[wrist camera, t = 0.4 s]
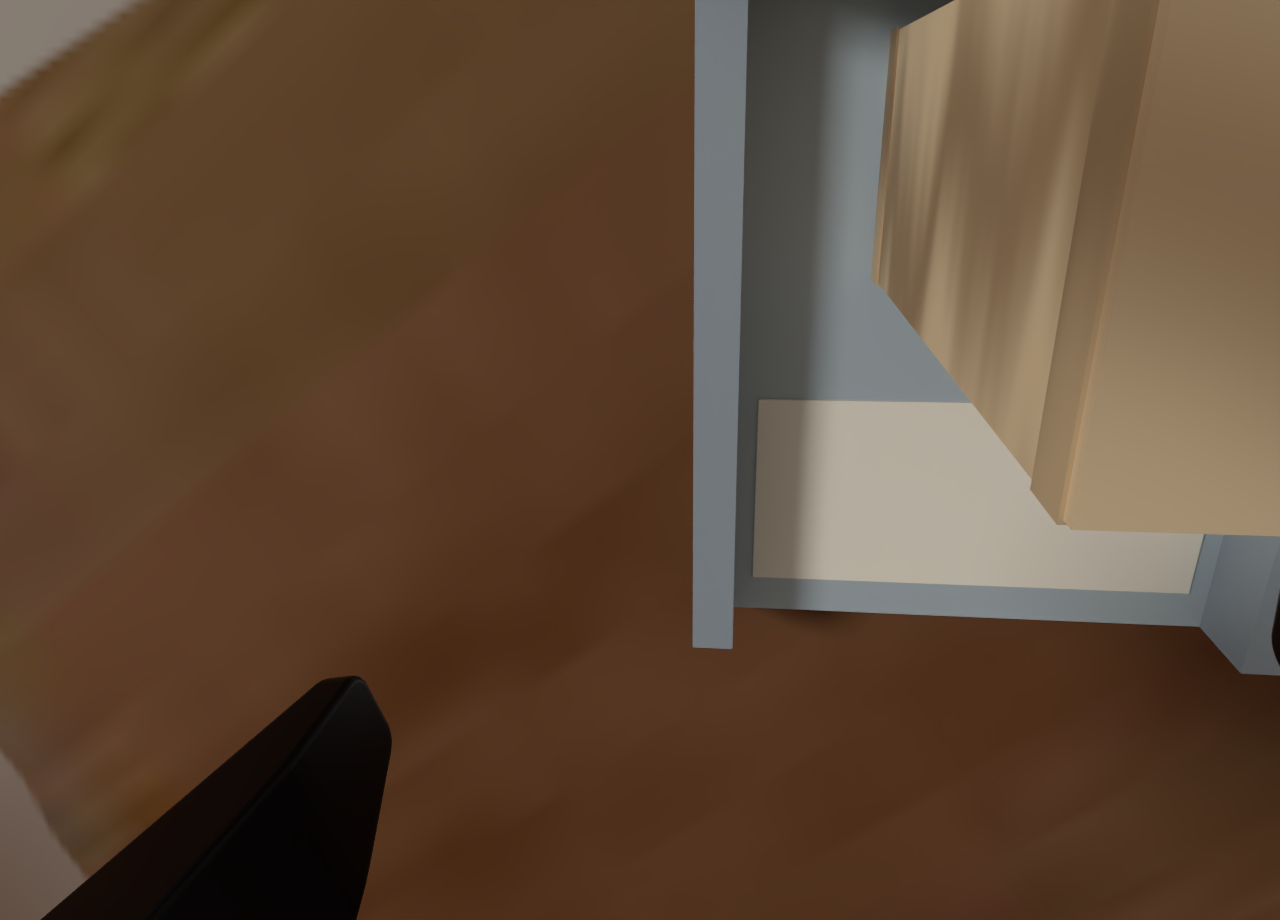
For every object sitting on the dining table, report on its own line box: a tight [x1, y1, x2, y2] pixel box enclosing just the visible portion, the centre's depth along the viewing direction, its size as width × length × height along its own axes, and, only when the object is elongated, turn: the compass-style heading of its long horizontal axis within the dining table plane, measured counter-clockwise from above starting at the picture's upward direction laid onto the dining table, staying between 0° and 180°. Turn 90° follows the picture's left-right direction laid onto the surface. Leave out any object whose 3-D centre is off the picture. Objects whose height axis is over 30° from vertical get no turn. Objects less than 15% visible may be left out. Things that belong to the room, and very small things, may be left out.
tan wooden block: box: [871, 0, 1280, 536], centre depth 12 cm, size 5×6×13 cm
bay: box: [693, 0, 1280, 675], centre depth 18 cm, size 16×18×6 cm
